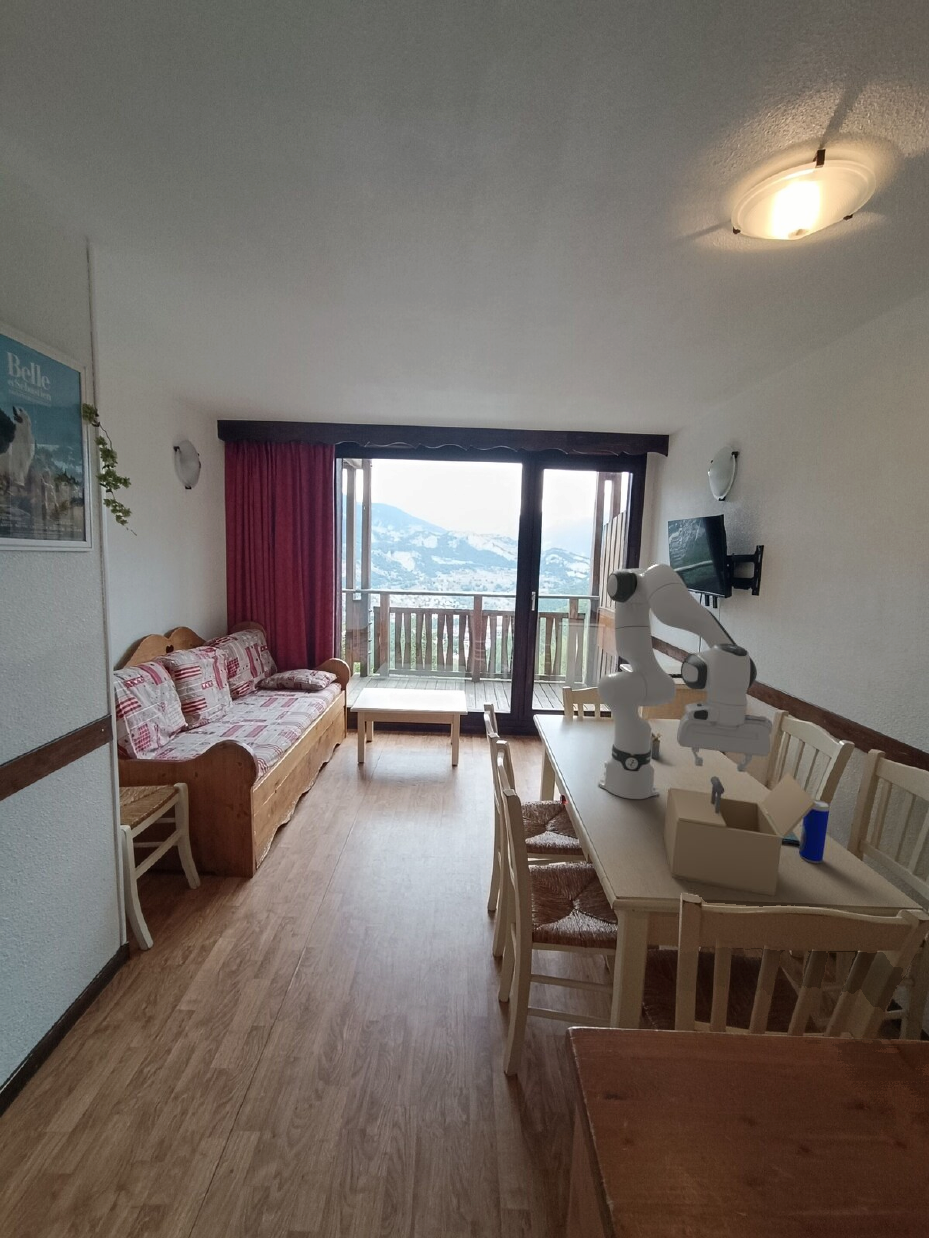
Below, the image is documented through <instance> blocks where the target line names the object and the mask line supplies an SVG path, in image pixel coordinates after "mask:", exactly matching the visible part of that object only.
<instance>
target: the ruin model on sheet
mask: <svg viewBox="0 0 929 1238" xmlns="http://www.w3.org/2000/svg"><path fill="white" fill-rule="evenodd" d="M661 737H662V734H661V733H660V732H659V733H657V735H656V734H655V733H654V732H652V731H651V742H650V750H651V759H655V760H656V759H659V755H660V746H661V745H660V744H661V743H660V742H661V740H660V739H659V738H661Z"/></svg>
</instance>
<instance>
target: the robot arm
mask: <svg viewBox="0 0 929 1238" xmlns="http://www.w3.org/2000/svg"><path fill="white" fill-rule="evenodd" d="M606 591H607V595H608V596H609V598H610V600H612V601H614V602H616V603H615V610H614V638H615V651H616V654H617V655H618V657H620V658H621V659H623V660H624V661H626V662H627V663H628V664H629V665H630V668H631V670H632V671H615V672H610V673H607V674H604V675H602V676H601V678H600V679H599V680H598V683H597V689H596V690H597V695H598V697H599V699H600V701H601V702H602V703H603V705H605V706H607V708H608V709H609V710H610V712H611V714H612V717H613V721H614V739H613V740H614V741H613V744H612V747H611V757H610V759H608V760H605V761H604V768H605V770H604V772H603V774H602V775H601V777H600V779H599V780H598V784H597V786H598V787H600V788H603V789H604V790H606V791H608V792H610V793H611V794H612V795H615V796H618V797H621V798H624V799H625V798H626V799H629V800H644V799H648V798H649V797H652V796H653V797H654V796H659V795H660V794H659V793H660V791H659V789H658V788H657V786H656V785H655V784H654V781H655V768H654V767H653V765H652V764H651V759H652V758H651V750H650V742H651V735H652V727H651V726H652V725H650V723H649V722H648V721H647V720H646V719H644V718H643V717H642V716H640V715H639V707H658V706H659V707H660V706H662V705H666V704H670V703H671V702H673V701H674V699H675V698H676V695H677V685H676V682H675V680H674V679H673V677H672V676H671V675H670V674H668V673H667V672H666V671H665V670H664V669H663V668H662V666H661V665H660V662H658V660H657V657H656V655H655V653H654V648H653V641H652V632H651V631H652V630H651V621H650V609H651V611H652V613H653V615H654V616H655V618H657V620H658V621H659V622H660V623H661V624H664V625H665V626H668V627H671V628H675V629H680V630H683V631H686V632H689V633H691V634H694V635H696V636H699V638H701V639H702V640H703V641H705V644H706V645H707V646H708V647H709V649H708V650H704V651H699V652H693V653H689V654H688V655H687V656H686V657H685V658H684V659H683V660H682V663H681V666H680V675H681V679H682V681H683V683H684V684H685V685H686V686H687V687H688V688H689V689H691V690H695V691H705V692H706V696H705V697H706V698H705V700H703V701H698V702H692V703H688V704H685V705H684V713H685V714H683V715H682V716H681V718H680V721H679V723H678V727H677V733H676V742H677V743H678V745H679V746H680V747H684V748H690V749H691V752H692V753H693V756H694V764H695V766H697V767H703V763H704V759H703V757H701V756H698V753H699V751H700V750H707V751H716V752H717V751H718V752H724V753H731V754H733V753H734V754H741V755H743V759H742V760H741V761H740V762H738V761H737V762H736V763H737V764H736V765H737V766H736V770H737V772H742V773H746V766H748V764H749V763H751V761H752V759H753V756H756V757H757V756H758V757H767V756H769V754H770V753H771V736H770V735H771V734H772V732H773V722H772V721H771V720H770V719H768V718H767V717H766V716H763V715H762V716H761V715H760V716H757V715H754V714H753V715H752V714H747V708H748V698H747V692H748V690H749V689H750V688H751V687H752V686H753V685H754V683H755V681H756V679H757V674H758V671H757V670H758V669H757V667H756V664H755V662H754V660H753V658H751V657H750V655H749V652H748V650H747V649H745V648H744V647H742V646H740V645H738V644H737V643H736V642H735V641H734V639H733V638H732V636H731V635H730V634H729V633H728V631H727V630H726V629H725V627H724V626H723V624H722V623H721V622H720V621H719V620H718V619H717V617H716V616H715V615H714V614H713V613H712V612H711V611H710V610H709V609H707V608H706V607H705V606H703V605H702V604H701V603H700V602H699V601H698V600H697V599H696V598H695V597H694V595H692V593H690V591H689V589H688V588H687V585H686V584H685V582H684V580H682V578H681V576H680V575H679V574H678V572H677V571H675V569H674V568H673V567H672V566H670V565H668V564H666V563H657V564H654V565H651V566H649V567H640V568H639V567H638V568H618V569H615V570H613V571H612V572H611V573H610V574H609V576H608V578H607V581H606Z"/></svg>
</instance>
